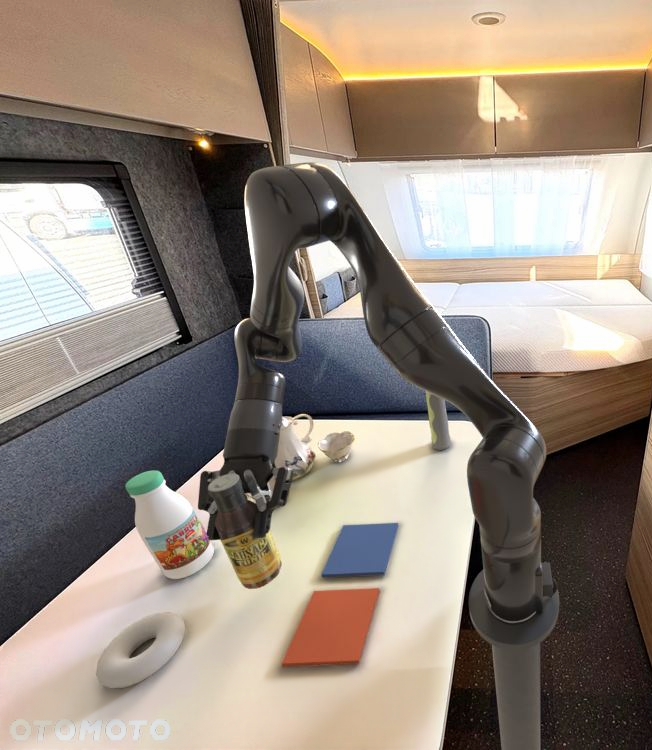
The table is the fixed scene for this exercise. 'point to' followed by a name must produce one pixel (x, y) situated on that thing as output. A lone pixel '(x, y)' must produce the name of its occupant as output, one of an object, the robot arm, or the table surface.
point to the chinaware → (307, 448)
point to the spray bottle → (438, 422)
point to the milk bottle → (169, 526)
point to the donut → (127, 671)
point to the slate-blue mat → (361, 550)
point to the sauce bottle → (243, 534)
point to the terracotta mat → (333, 628)
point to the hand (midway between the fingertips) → (237, 538)
